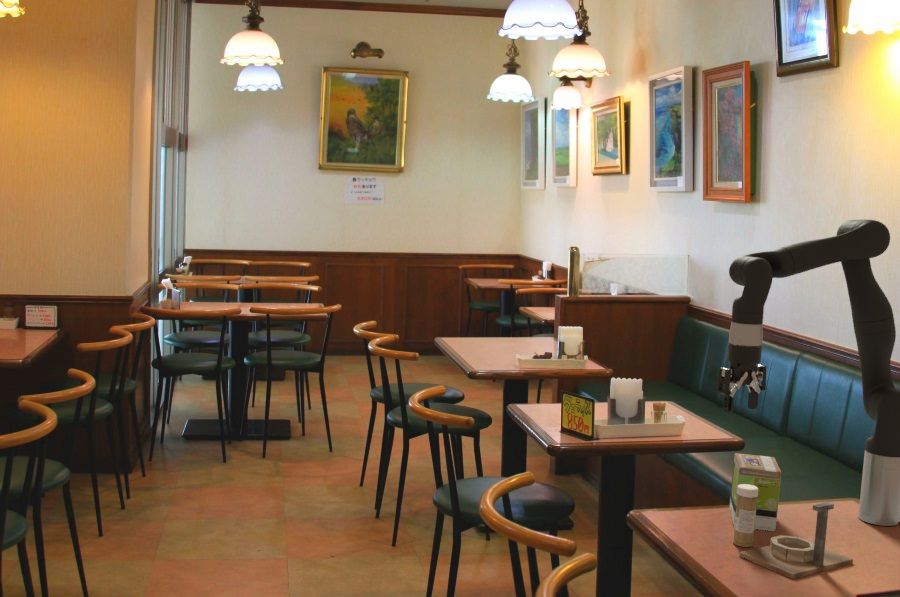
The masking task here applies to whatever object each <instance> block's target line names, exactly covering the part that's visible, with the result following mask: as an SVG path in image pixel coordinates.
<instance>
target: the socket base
mask: <svg viewBox="0 0 900 597" xmlns="http://www.w3.org/2000/svg"><path fill="white" fill-rule="evenodd" d="M834 507H835V504H834V503H832V502H828V501H827V502H822V503H816V504H813V505H812V511H815V512H817V513H816V524H815V525H816V526H815V534H814V542H813V541H811V540H809V539H806V538H803V537H799V536H794V535H784V534H783V535H782V534H781V535H776V536H772V537H771V536H770V540H769V545H764V546H761V547H757V548H751V549H747V550H743V551H740V552H739V557H740V558H742V559H744V558H745V560H746V559H747V560H746V561H749V560H750V561H749V562H751V561H752V562H751V563H754V564H756V563H757V564H756V565H758V564H759V566H761V567H764V568H765V567H766V569H768V570H771V571H772V570H773V571H772V572H775V571H776V572H775V573H777V572H778V574H779V575H782V574H783V575H782V576H784V575H785V577H787V578H789V577H790V578H789V579H792V580H794V579H799V578H801V577H805V576H810V575H814V574H817V573H818V574H819V573H821V571H822V572H825V570H826V571H829V569H830V570H834V569H837V568H841V567H845V566H848V565H852V564H853V563H854V559H853V558H851V557H848V556H847V555H844V554H840V553H839V552H838V553H837V552H835V551H833V550H830V549H827V548H826V539H827V528H828V518H829V510H830V511H831V510H833V509H835V508H834ZM816 572H817V573H816ZM813 573H814V574H813Z"/></svg>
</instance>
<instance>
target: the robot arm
mask: <svg viewBox="0 0 900 597" xmlns="http://www.w3.org/2000/svg"><path fill="white" fill-rule="evenodd" d="M890 234H891V233H890V231H889V229H888V227H887V226H886V225H885V224H884V223H883V222H881V221H880V220H879V221H878V220H875V219H850V220H849V219H848V220H846V221H844V222H842V223H841V224H840V225H839V227H838V229H837V232H836V235H834V236H830V237H823V238H818V239H812V240H811V239H810V240H805V241H800V242H796V243H791V244H788V245H784V246H782V247H778V248H776V249H772V250H768V251H760V252H754V253H747V254H743V255H740V256H739V257H737V258H735V259H734V260H733V261H732V262H731V264H730V266H729V269H728V273H729V278H730V279H731V281H733V283H735V284H736V285H738V286H742V287H743V290H742V293H741V296H739V297H736V298H734V300H733V302H732V309H731V311H732V312H731V322H730V328H729V335H728V347H727V361H728V362H729V363H730V365H729V368H727V367H720V368H719V372H718V381H717V393H718V394H721V395H723V401H722V402H723V404H722V407H723V408H722V409H723V411H724V412H726V413H729V414H730V413H733V412H734V402H735V394H736V392H737V391H738V390H740V388H741V387H744V386H746V387H747V390H748V394H747V395H748V398H747V408H748V409H751V410H757V408H758V405H759V395H760V393H761V392H762V391H763V392H764V391H765V390H766V388H767V365H762V364H760V363H761V362H762V351H763V339H764V338H763V337H764V330H763V328H764V327H763V326H764V325H763V322H764V310H765V304H766V302H767V299H768V296H769V294H770V290H771V288H772V283H773V278H774V279H775V278H776V279H782V278H783V279H784V278H788V277H791V276H795V275H799V274H801V273H805V272H808V271H811V270H814V269H819V268H821V267H824V266H828V265H829V266H830V265H832V264H835V263H841V266H842V270H843V274H844V278H845V281H846V288H847V293H848V299H849V303H850V310H851V316H852V324H853V330H854V331H853V332H854V335H855V340H856V347H857V353H858V359H859V363H860V370H861V383H862V384H861V386H862V402H863V404H862V405H863V408H864V411H865V413H866V415H867V416H868V417H869V418H870V419H872V421H874V422H876V423H875V430H874V434H873V436H870V437H868V438H866V440H865V444H864V455H863V456H864V457H863V465H862V466H863V467H862V474H861V475H862V478H861V487H860V495H859V496H860V497H859V505H858V506H859V507H858V519H860V520H861V521H862V522H866V523H869V524H872V525H877V526H883V527H894V526H898V525H899V523H900V390H899V389H896V388H895V384H894V379H893V376H892V369H891V359H892V355H893V351H894V347H895V344H896V337H897V336H896V335H897V333H896V331H897V330H896V324H895V318H894V312H893V308H892V305H891V303H890V300H889V299H888V297H887V296H886V294H885V293H884V291H883V289H882V288H881V287H880V285H879V283H878V281H877V279H876V278H875V276H874V273H873V270H872V264H871V259H873V258H876V257H879V256H881V255H882V254H884V253H885V252H886V251H887V249H888V248H889V245H890V241H891V235H890ZM723 387H724V388H723Z"/></svg>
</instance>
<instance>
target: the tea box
mask: <svg viewBox="0 0 900 597" xmlns="http://www.w3.org/2000/svg"><path fill="white" fill-rule="evenodd" d="M781 482H782V470H781V467H780V466H779V464H778V462H777V459H776V457H774V456H767V455H758V454H757V455H755V454H748V453H747V454H746V453H737V452H735V453H734V458H733V468H732V478H731V486H730V488H731V489H730V497H729V498H730V499H729V511H730V515H731V520H732V521H731V522H732V524H733V527H734V526H735V514H736V507H737V487H738V485H740V484H749V485H754V486H756V487H757V488H758V496H757V503H756V518H755V529H754V530H757V529H758V530H759V531H765V530H766V532H775V531H776V527H777V520H778V519H777V518H778V512H779V511H778V509H779V500H780V491H781V490H780V489H781V484H782V483H781ZM758 530H757V531H758ZM767 530H768V531H767Z"/></svg>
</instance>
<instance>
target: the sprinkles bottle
mask: <svg viewBox="0 0 900 597" xmlns="http://www.w3.org/2000/svg"><path fill="white" fill-rule="evenodd" d="M757 496H758V488H757V487H756V486H754V485H749V484H740V485H738V487H737V507H736V514H735V526H734V525H733V528H734V532H733V540H732V542H733V544H734V545H736V546H737V547H741V548H742V547H743V548H751V547H754V535H755V530H756V529H755V518H756V503H757Z"/></svg>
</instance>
